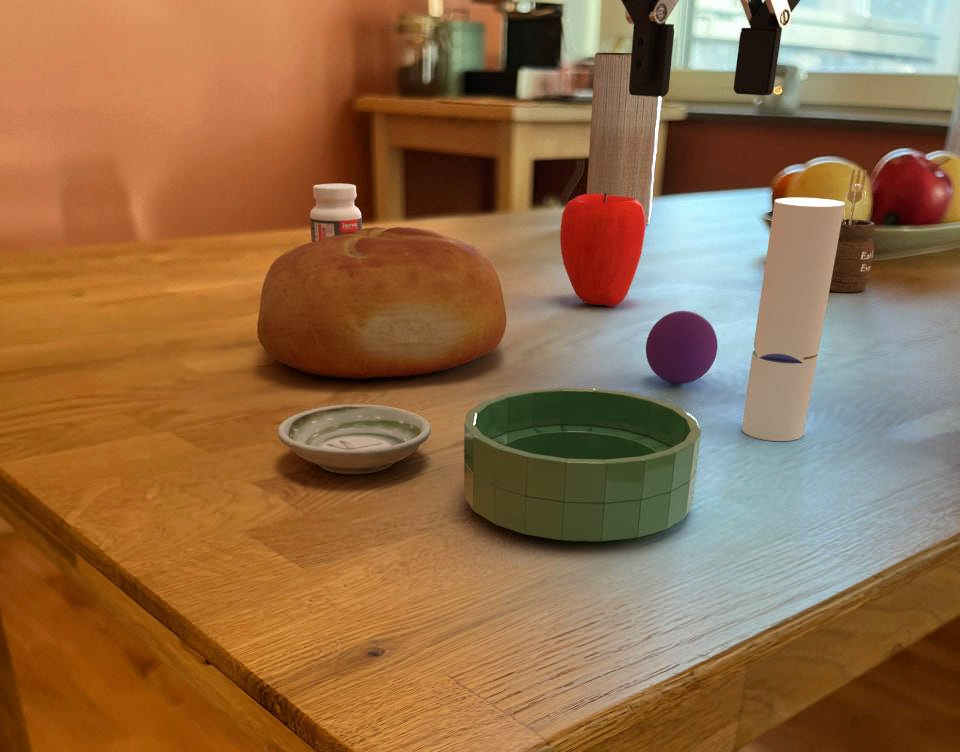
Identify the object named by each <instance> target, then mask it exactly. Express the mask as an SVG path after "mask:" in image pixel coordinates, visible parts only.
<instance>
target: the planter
mask: <svg viewBox="0 0 960 752" xmlns="http://www.w3.org/2000/svg"><path fill="white" fill-rule="evenodd" d="M631 54H632V52H596V53H595V54H594V64H593V65H594V66H593V80H592V81H593V82H592V85H593V86H592V98H591V100H592V101H591V114H590V115H591V116H590V132H589V133H590V134H589V147H588V164H587V165H588V166H587V167H588V168H587V184H586V194H602V195H604V193H607V195H611V196H621V197H631V198H634V199H636V200H637V201H638V202H639V203H641V205H642V206H643V210H644V213H645V226H647V225H648V224H650V222H651V216H652V208H653V198H654V197H653V195H654V186H655V185H654V184H655V175H656V174H655V173H656V163H657V150H658V142H659V141H658V140H659V131H660V130H659V129H660V117H661V109H662V107H661V106H662V97H651V96H636V95H631V94H630V93H629V80H630V67H631Z"/></svg>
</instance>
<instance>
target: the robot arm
mask: <svg viewBox="0 0 960 752" xmlns="http://www.w3.org/2000/svg"><path fill="white" fill-rule="evenodd" d="M620 1H621V3H622V5H623V7H624V8H625V13H624V15H625V16H624V17H625V20H626V22H627V23H628V24H630V25H633V27H632V29H633V30H632V41H631V42H632V43H631V53H632V54H631V67H630V80H629V93H630V94H631V95H636V96H651V97H661V98H664V97H666V95H667V94H668V93H669V90H670V80H671V69H672V60H673V48H674V41H675V40H674V39H675V24H674V23H666V21H667V20H668V18H669V17H670V16H671V14H672V12H673V11H674V9H675V8H676V6H677V4H678V3H679V1H680V0H620ZM739 1H740V3H741V7H742V8H743V12H744V14H745V17H746V20H747V22H748V25H749V27H741V31H740V33H739V40H738V46H737V47H738V49H737V57H736V64H735V71H734V72H735V73H734V80H733V91H734V93H735V94H736V95H750V96H770V95H772V94H773V92H774V88H775V81H776V74H777V67H778V60H779V55H780V54H779V53H780V47H781V41H782V40H781V38H782V33H783V29H785V28H787V27H788V26H789V25H790V22H791V20H792V12H793V11H794V10H795V8H796V7H797V6H798V4H799V3H800V2H801V0H739Z"/></svg>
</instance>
